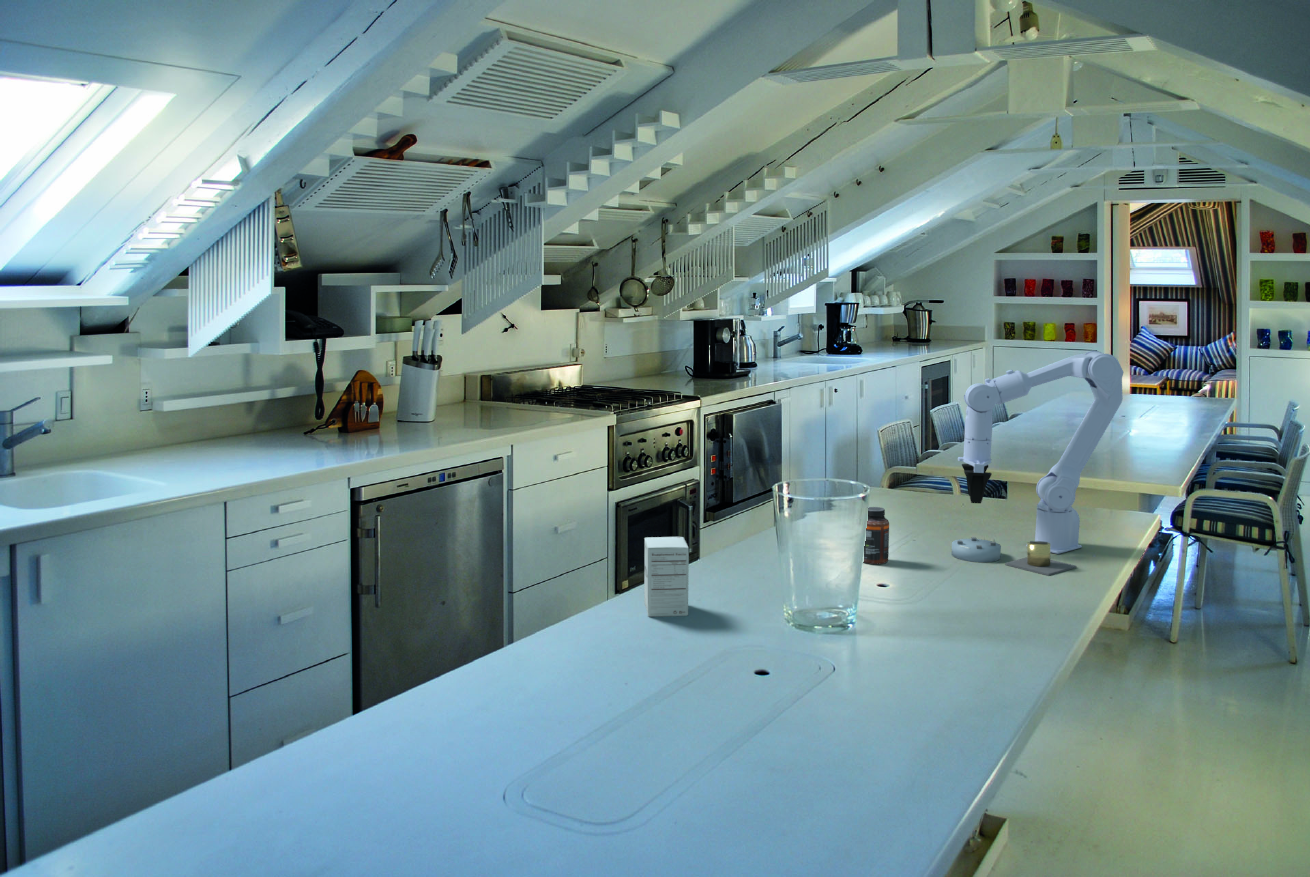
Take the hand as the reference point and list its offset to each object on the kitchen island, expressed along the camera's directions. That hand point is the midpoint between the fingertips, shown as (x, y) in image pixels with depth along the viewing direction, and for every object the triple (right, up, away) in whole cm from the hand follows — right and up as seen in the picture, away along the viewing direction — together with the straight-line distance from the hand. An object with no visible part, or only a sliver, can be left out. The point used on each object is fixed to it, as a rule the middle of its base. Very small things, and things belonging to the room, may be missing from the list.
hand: (974, 499), depth 234 cm
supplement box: (-69, -17, -45) cm, 84 cm away
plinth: (-2, -12, -7) cm, 14 cm away
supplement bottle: (-25, -13, -12) cm, 30 cm away
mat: (+9, -13, -15) cm, 22 cm away
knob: (+9, -12, -15) cm, 21 cm away
